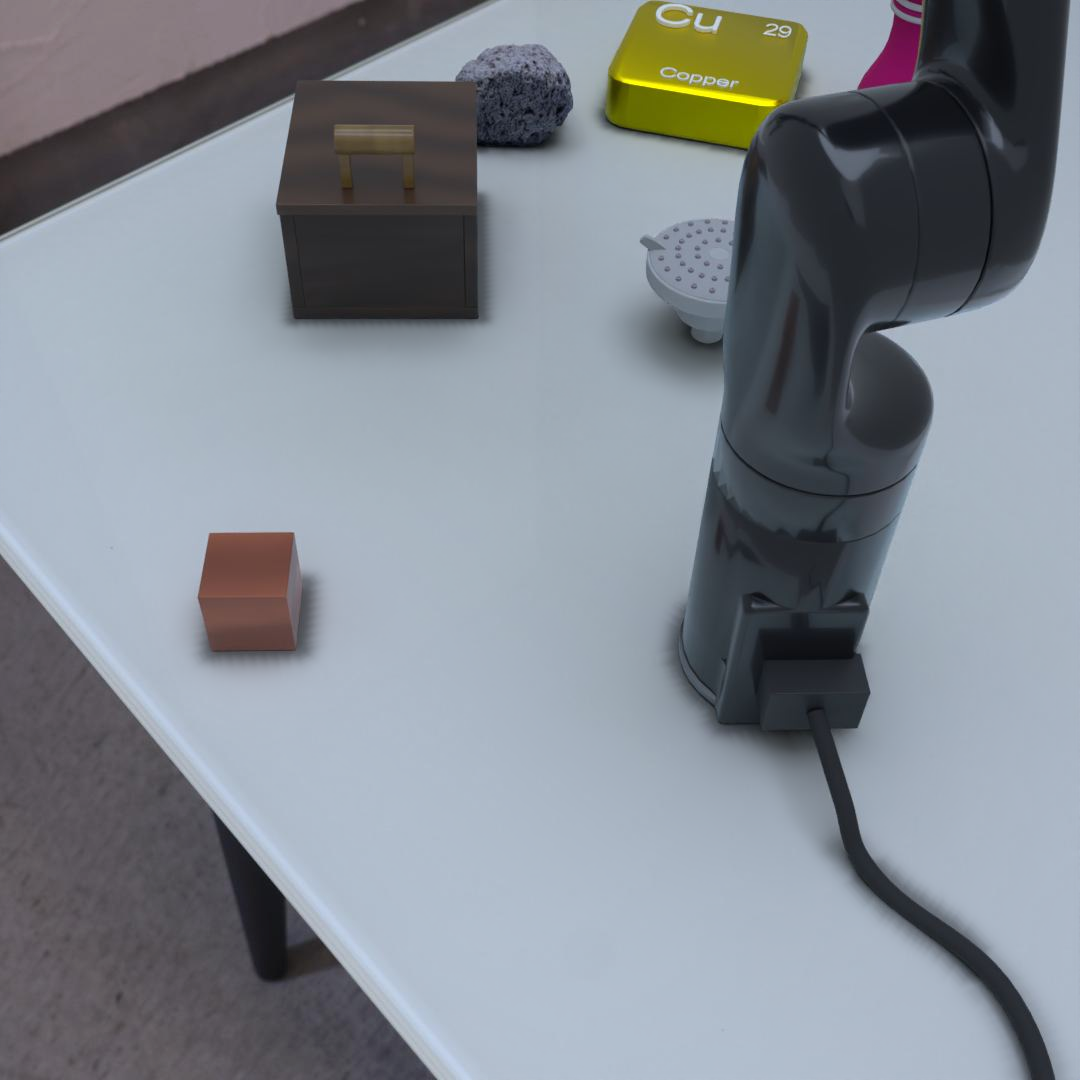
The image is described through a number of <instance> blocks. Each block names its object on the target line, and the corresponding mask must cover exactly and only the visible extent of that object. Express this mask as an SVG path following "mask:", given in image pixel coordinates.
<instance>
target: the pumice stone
mask: <svg viewBox="0 0 1080 1080" xmlns="http://www.w3.org/2000/svg"><path fill="white" fill-rule="evenodd" d="M454 81H456V82H476V94H477V145H483V146H486V147H496V146H497V147H498V146H502V147H503V146H504V147H508V146H514V147H516V146H517V147H526V148H527V147H528V148H529V147H534V146H537V145H539V144H541V143H542V141H545V140H546V139H548V138H549V136H550V134H553V133H554V131H555V129H556V127H561V126H563V124H564V122H565V120H566V118H567V117H568V114H570V112H571V111H572V110H573V109H574V96H573V93H572V83H571V79H570V76H569V74H568V73H567V70H566V69H565V68H564V66H563V65H562V62H559V61H558V59H557V58H556V56H555V55H554V54H553V53H552V52H551V51H549V50H548V48H547V47H545V46H544V45H542V44H537V43H532V44H530V43H526V44H522V45H517V44H514V43H512V44H501V45H496V46H494V47H491V48H490V47H487V48H485V49H484V50H483V51H481V53H480V54H479V55H478V56H477V57H476V59H471V60H469V61H468V62H466V63H465V64H464V65H463V66H462V67H461V69H460V71H459V72H458V74H457V75H455V80H454Z"/></svg>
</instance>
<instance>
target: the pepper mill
mask: <svg viewBox="0 0 1080 1080" xmlns="http://www.w3.org/2000/svg"><path fill="white" fill-rule="evenodd" d="M889 4H890V5H889V6H890V9H891V11H892V12H893V19H892V26H891V29H890V31H889V36H888V39H887V41H886V43H885V45H884V46H883V49H882V50H881V52H880V54H879V55H878V56H877V57H876V59H875V60H874V61H873V63H872V64H871V65H870V67H869V68H867V70H866V72H865V73H864V74H863V76H862V78H861V80H860V81H859V83H858V85H857V87H856V90H859V89H865V88H871V87H877V86H884V85H890V84H896V83H902V82H909V81H911V80H912V78H913V75H914V71H915V66H916V61H917V56H918V49H919V41H920V34H921V19H922V0H890V3H889Z"/></svg>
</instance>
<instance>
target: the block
mask: <svg viewBox="0 0 1080 1080" xmlns="http://www.w3.org/2000/svg"><path fill="white" fill-rule="evenodd" d="M200 576H201V577H200V582H199V588H198V593H197V600H198V604H199V608H200V612H201V615H202V620H203V622H204V627H205V632H206V635H207V639H208V642H209V643H208V644H209V646H210V647H209V648H210V650H211V651H212V652H222V651H224V652H225V651H226V652H228V651H235V652H236V651H295V650H296V649H297V645H298V635H299V624H300V618H301V607H302V598H303V590H304V589H303V588H304V583H303V578H302V571H301V565H300V560H299V553H298V549H297V541H296V536H295V532H293V531H279V532H278V531H277V532H275V531H271V532H268V531H267V532H266V531H265V532H264V531H261V532H257V531H256V532H209V534H208V537H207V543H206V549H205V554H204V559H203V566H202V571H201V575H200Z"/></svg>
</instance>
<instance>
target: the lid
mask: <svg viewBox="0 0 1080 1080" xmlns="http://www.w3.org/2000/svg"><path fill="white" fill-rule="evenodd" d="M286 137H287V138H286V143H285V149H284V155H283V159H282V160H283V161H282V166H281V172H280V178H279V183H278V190H277V195H276V202H275V208H276V215H278V216H280V215H478V143H477V94H476V82H456V81H455V80H454V81H451V80H450V81H447V80H445V81H444V80H443V81H441V80H440V81H439V80H438V81H437V80H433V81H432V80H429V81H428V80H424V81H423V80H328V79H327V80H316V79H314V80H312V79H298V80H297V81H296V86H295V91H294V97H293V103H292V109H291V114H290V120H289V125H288V133H287V136H286Z"/></svg>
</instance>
